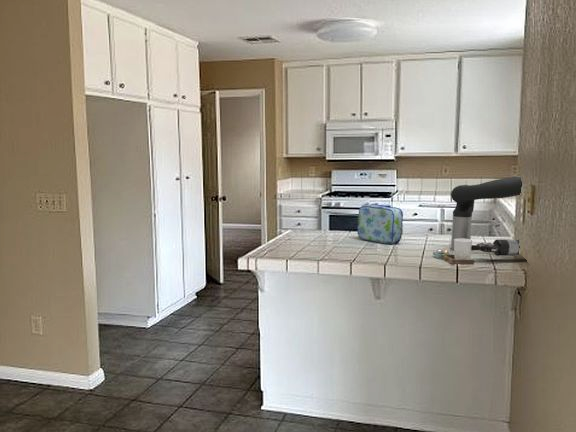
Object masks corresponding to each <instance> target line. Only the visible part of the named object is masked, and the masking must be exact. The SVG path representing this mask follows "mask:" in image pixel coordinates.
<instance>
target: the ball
mask: <svg viewBox="0 0 576 432" xmlns="http://www.w3.org/2000/svg"><path fill="white" fill-rule="evenodd" d="M443 251H444V250H442V249H437V250H436V251H435V252H436V253H438V254H442V253H443Z"/></svg>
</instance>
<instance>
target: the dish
mask: <svg viewBox="0 0 576 432" xmlns="http://www.w3.org/2000/svg"><path fill="white" fill-rule="evenodd" d="M442 255H454V253H451V252H449V254H438V253H436V251H433V252H432V256H434V258H435V259H439V260H443V259H442Z"/></svg>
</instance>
